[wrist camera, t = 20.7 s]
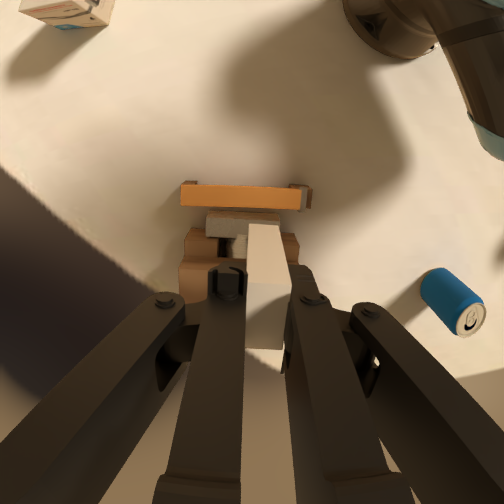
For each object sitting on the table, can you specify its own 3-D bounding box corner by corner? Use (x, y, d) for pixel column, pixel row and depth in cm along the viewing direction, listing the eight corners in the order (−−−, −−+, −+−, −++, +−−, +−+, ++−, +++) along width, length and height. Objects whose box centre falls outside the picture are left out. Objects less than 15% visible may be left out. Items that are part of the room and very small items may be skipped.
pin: (209, 210, 43) (205, 217, 39) (277, 213, 43) (280, 221, 39) (208, 324, 49) (205, 339, 45) (266, 327, 49) (268, 342, 46)
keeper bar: (181, 181, 37) (180, 183, 36) (306, 186, 39) (308, 188, 38) (181, 206, 38) (180, 208, 37) (304, 210, 40) (306, 212, 39)
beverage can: (419, 305, 49) (452, 346, 38) (416, 272, 47) (454, 310, 36) (449, 293, 48) (486, 330, 37) (448, 260, 46) (490, 294, 35)
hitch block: (185, 179, 41) (170, 191, 33) (308, 185, 42) (323, 199, 33) (186, 281, 46) (174, 313, 38) (296, 286, 47) (306, 319, 39)
